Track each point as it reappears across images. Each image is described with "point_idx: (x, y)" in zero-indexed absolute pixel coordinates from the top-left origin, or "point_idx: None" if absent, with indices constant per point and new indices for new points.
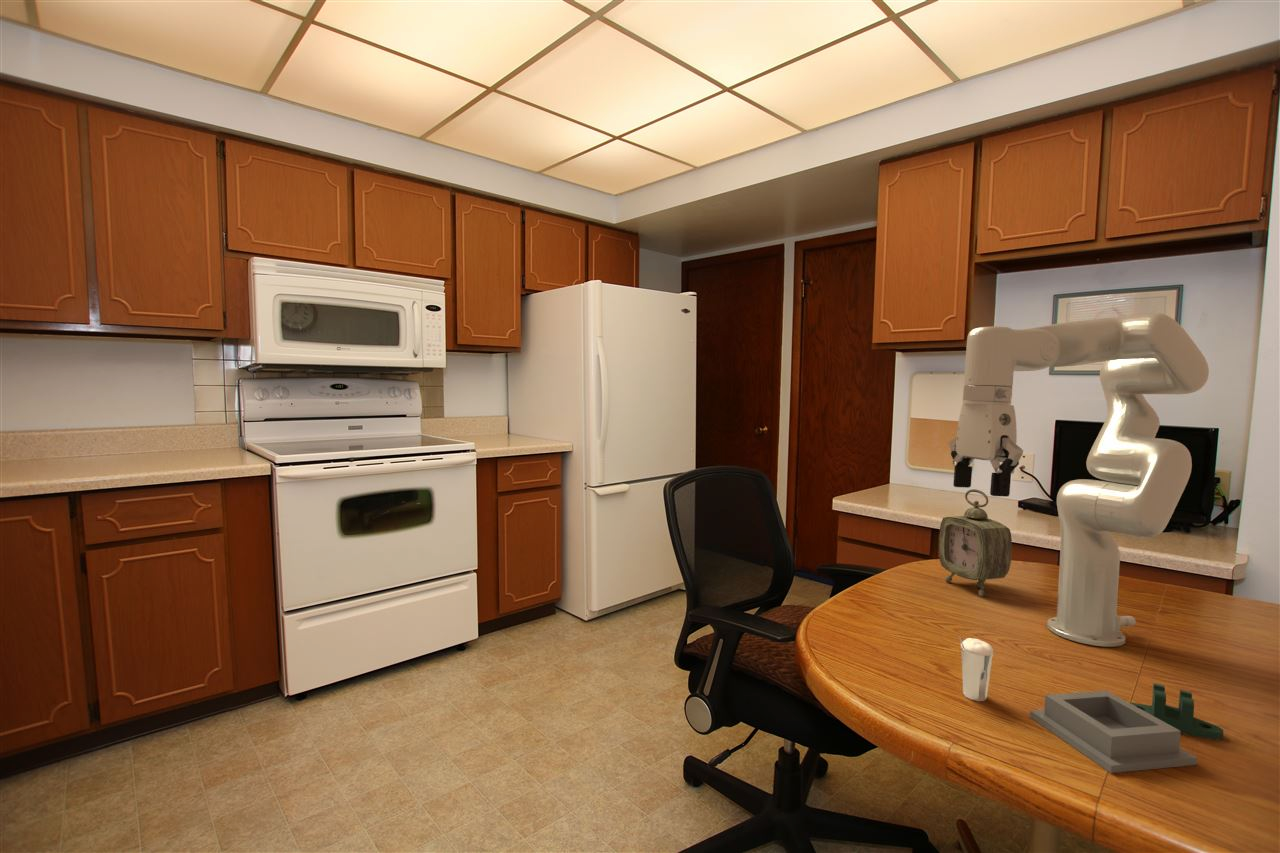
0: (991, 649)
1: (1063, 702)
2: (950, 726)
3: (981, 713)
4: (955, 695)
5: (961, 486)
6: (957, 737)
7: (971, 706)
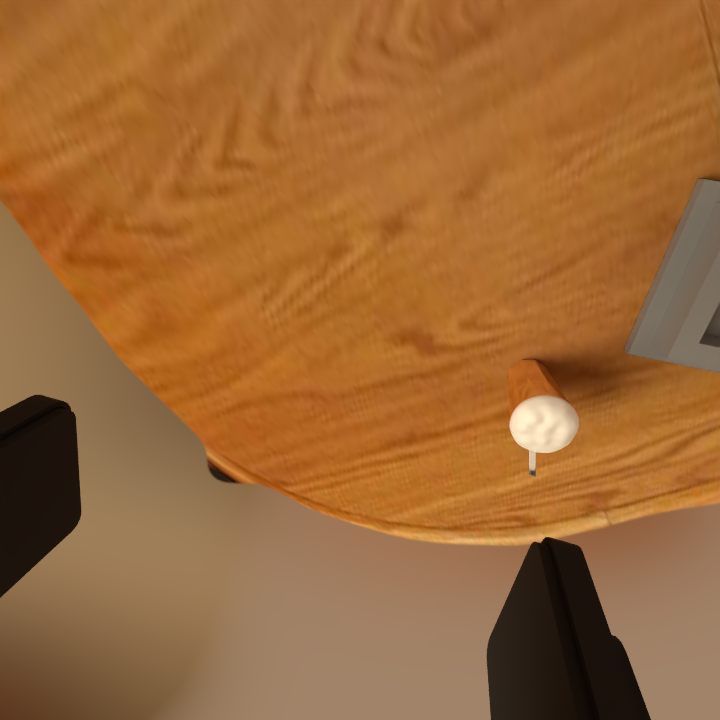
0: (576, 420)
1: (705, 353)
2: (573, 483)
3: None
4: None
5: (78, 486)
6: (599, 496)
7: None
